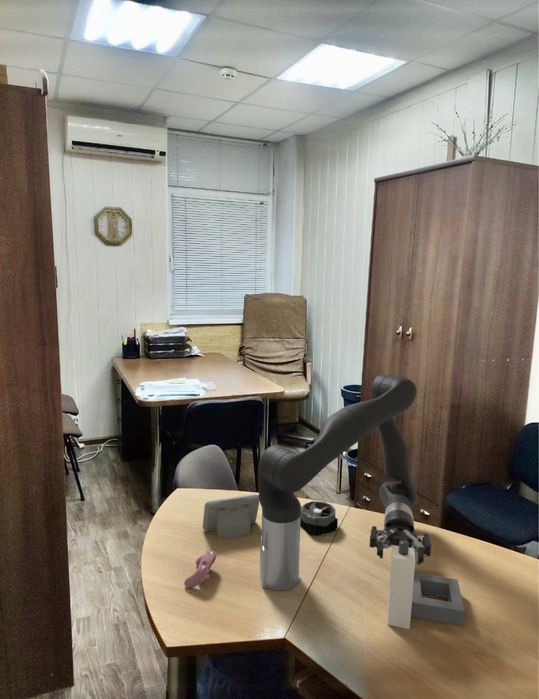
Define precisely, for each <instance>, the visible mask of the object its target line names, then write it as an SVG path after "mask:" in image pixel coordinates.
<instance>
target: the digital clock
mask: <svg viewBox="0 0 539 699" xmlns="http://www.w3.org/2000/svg"><path fill="white" fill-rule="evenodd" d="M259 505H260V501H259V494H257V493H251V494H243V495H242V494H241V495H236V496H229V497H223V498H215V499H210V500H206V502H205V504H204V510H203V520H202V529H203V531H205V532H213V531H215V532H216V535H217V537H218V539H219V540H224V539H228V538H229V539H230V538H235V537H241V536H247V535H250V534H251V525H253V524H255V523H256V522H257V519H258V518H257V517H258V511H259Z"/></svg>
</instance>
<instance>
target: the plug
mask: <svg viewBox="0 0 539 699" xmlns="http://www.w3.org/2000/svg"><path fill="white" fill-rule="evenodd" d="M415 555H416V553H414V548H409V542H408V541H406V540H400V541H399V546H394V545H392V546H391V558H390V571H389V573H390V574H389V585H388V586H389V588H388V602H387V625H388V626H390V627H392V626H393V627H397V628H402V629H408V630H410V629H411V618H412V617H411V607H412V594H413V582H414V573H415V569H416V568H415V567H416V556H415Z"/></svg>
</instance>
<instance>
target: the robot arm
mask: <svg viewBox="0 0 539 699" xmlns="http://www.w3.org/2000/svg"><path fill="white" fill-rule="evenodd" d="M417 391H418V390H417V387H416V385H415V383H414V381H412V380H410V379H408V378H407V377H404V376H403V377H401V376H396V375H392V374H391V375H389V374H379V375H377V376H376V377H375V378H374V380H373V381H372V384H371V389H370V394H371V399H369V400H363V401H360V402H359V401H358V402H356V403H352V404H349V405H346V406H344V407H342V408H341V409H338V410H337V411H336V412H334V413H333V414H331V415H330V416H328V417H327V418H326V419H325V420H324V422H323V424H322V425H321V427H320V430H319V434H318V437H317V439H316V440H315V442H313V444H311V445H310V446H308V447H307V448H305V449H304V450H301V451H300V452H296V451H294V450H291V449H289V448H287V447H285V446H282V445H280V444H273V445H270V446H269V447H267V448H266V449H265V450H264V451H263V453H262V455H261V456H260V459H259V463H258V470H257V476H258V477H257V480H258V482H257V483H258V495H259V505H260V507H261V537H260V538H259V539H260V544H259V549H260V550H259V551H260V552H259V576H260V580H261V587H262V588H268V589H271V590H273V591H274V590H275V591H286V590H290V589H292V588H294V587H295V586H297V584H298V583H299V579H300V578H299V575H300V548H301V547H300V546H301V545H300V544H301V543H300V542H301V526H300V521H301V507H302V506H301V502H300V499H298V496H296V495H295V493H297V492H299V491H300V490H302V489H303V488H305V487H306V486H307V485H308V484H309V483H310V482H311V481H312V480H313V479H315V477H316V476H317V475H318V474H320V473H321V471H322V470H323V469H325V468H326V467H327V466H328V465H330V463H332V462H333V461H334V460H335V459H336V458H338V457H339V456H340V455H342V454H343V453H344V452H346V451H348V449H350V448H352V447H353V446H354V445H355V444H358V443H359V442H360V441H361V440H362V439H364V438H365V437H366V436H367V435H368V434H370V433H371V432H372V431H374V430H375V429H377V428H378V431H379V436H380V439H381V446H382V460H383V469H384V470H383V472H384V474H385V476H386V477H388V478H390V479H393V480H394V479H395V480H398V481H386V482H383V483H382V484H381V485H380V487H379V492H378V494H379V499H380V501H381V504H382V506H383V507H384V508H385V511H384V518H383V519H384V520H383V523H384V525H383V529H382V530H380V529H378V527H377V526H375V525H372V527H371V531H370V535H369V548H372V549H373V548H376V556H377V557H379V559H384V549H385V550H387V549H389V548H392V545H394V546H399V541H400V540H406V541H408V542H409V548H414V553H415V555H416V562H417V565H422V564H423V563H424V561H425V556H426V557H431V554H432V553H431V551H432V543H431V540H430V535H429V534H428V533H423V535H418V534H417V533H416V531H415V522H414V515H413V511H412V507H413V506H415V504H416V502H417V501H418V500H417V499H418V494H417V490H416V487H415V485H414V482H413V479H412V477H411V473H410V466H409V452H408V447H407V443H406V441H405V439H404V437H403V434H402V433H401V432H400V429H399V427H398V426H397V423H396V421H395V418H394V417H396V416H398V415H400V414H402V413H404V412H405V411H407V410H408V409H410V407H411V406H412V405H413V403H414V402H415V400H416V398H417Z"/></svg>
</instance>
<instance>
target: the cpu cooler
mask: <svg viewBox="0 0 539 699" xmlns="http://www.w3.org/2000/svg"><path fill="white" fill-rule="evenodd" d="M338 523H339V519H338V518H337V517H336V508H335V506H333V505H332V504H330V503H327V502H325V501H316V500H312V501H309V502H306V503H304V504H303V505H302V506H301V521H300V528H301V529H303V530H304V531H305V532H306V533H307V534H308V535H309V536H310V537H319V536H323V535H326V534H330V533H333V532H337V530H338Z"/></svg>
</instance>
